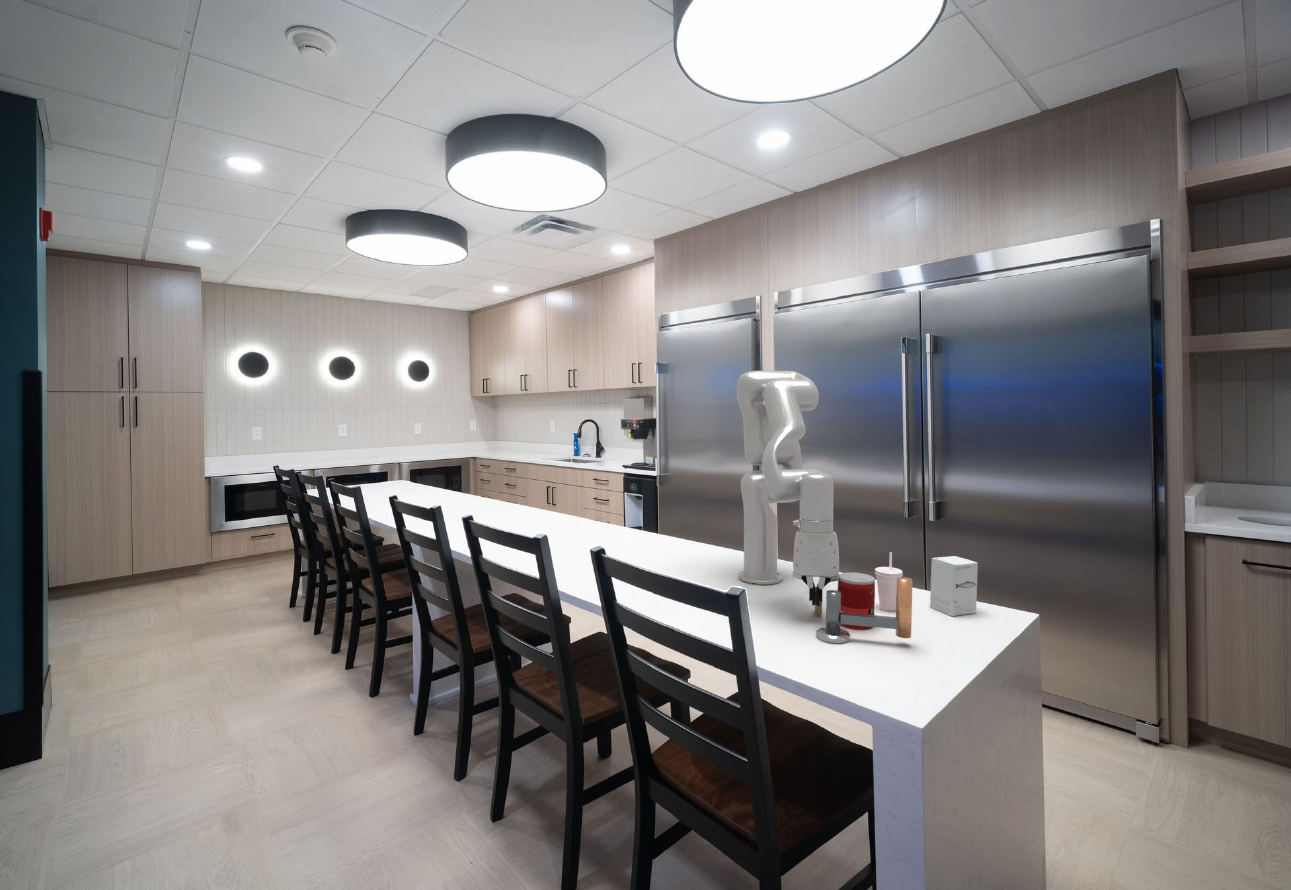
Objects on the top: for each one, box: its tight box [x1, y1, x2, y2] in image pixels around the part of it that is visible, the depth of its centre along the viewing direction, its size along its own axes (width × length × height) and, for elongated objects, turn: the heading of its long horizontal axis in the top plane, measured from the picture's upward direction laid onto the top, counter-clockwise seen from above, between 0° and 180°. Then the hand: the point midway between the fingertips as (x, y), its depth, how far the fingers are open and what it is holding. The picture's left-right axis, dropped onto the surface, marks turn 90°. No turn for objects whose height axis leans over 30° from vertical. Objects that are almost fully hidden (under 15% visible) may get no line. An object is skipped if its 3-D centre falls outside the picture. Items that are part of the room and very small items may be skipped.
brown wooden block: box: [814, 601, 823, 619], centre depth 142 cm, size 4×2×6 cm, turn 163°
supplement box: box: [929, 555, 979, 617], centre depth 144 cm, size 7×7×13 cm
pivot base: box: [815, 626, 851, 645], centre depth 128 cm, size 7×7×1 cm
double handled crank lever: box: [825, 576, 913, 639], centre depth 126 cm, size 17×3×13 cm, turn 73°
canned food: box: [837, 572, 876, 630], centre depth 136 cm, size 8×8×11 cm
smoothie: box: [874, 552, 904, 612], centre depth 146 cm, size 6×6×14 cm
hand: (815, 603), depth 138 cm, fingers closed
